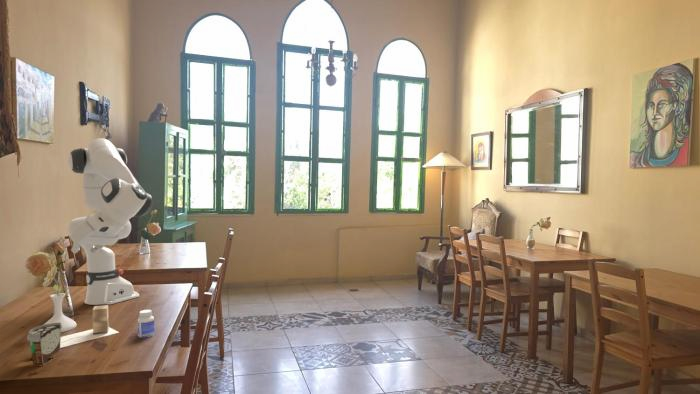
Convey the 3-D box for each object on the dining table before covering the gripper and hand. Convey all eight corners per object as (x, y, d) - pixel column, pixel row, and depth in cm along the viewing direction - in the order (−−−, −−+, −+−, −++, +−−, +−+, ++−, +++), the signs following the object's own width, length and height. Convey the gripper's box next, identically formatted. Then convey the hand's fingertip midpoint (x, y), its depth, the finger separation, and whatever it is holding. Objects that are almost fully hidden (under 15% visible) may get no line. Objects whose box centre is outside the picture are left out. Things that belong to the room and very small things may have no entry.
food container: (42, 352, 147) (41, 322, 146) (62, 351, 148) (61, 321, 147) (18, 368, 135) (17, 335, 134) (40, 367, 135) (38, 335, 135)
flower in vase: (44, 328, 169) (41, 263, 168) (79, 325, 174) (77, 260, 172) (35, 340, 157) (33, 270, 156) (73, 336, 162) (71, 267, 161)
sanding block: (108, 329, 166) (108, 304, 165) (107, 333, 161) (106, 308, 161) (94, 330, 164) (94, 306, 163) (93, 334, 160) (92, 309, 159)
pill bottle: (158, 336, 161) (157, 309, 161) (146, 341, 156) (146, 314, 156) (146, 334, 163) (145, 308, 163) (134, 339, 158) (133, 312, 158)
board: (106, 328, 169) (106, 325, 169) (119, 335, 162) (119, 332, 162) (44, 344, 154) (44, 340, 154) (56, 352, 147) (56, 348, 147)
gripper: (122, 219, 171) (97, 245, 171) (84, 214, 150) (56, 245, 150) (132, 230, 170) (107, 257, 169) (96, 227, 149) (67, 258, 149)
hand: (83, 251), depth 160 cm, fingers open, 8 cm apart
